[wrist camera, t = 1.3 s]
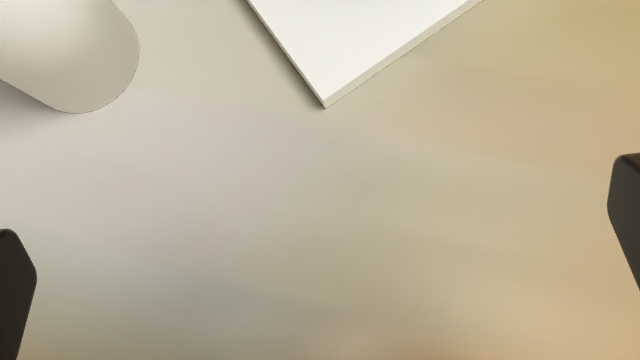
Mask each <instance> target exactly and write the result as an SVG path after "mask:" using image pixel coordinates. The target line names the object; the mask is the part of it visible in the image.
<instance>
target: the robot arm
mask: <svg viewBox="0 0 640 360" xmlns="http://www.w3.org/2000/svg"><path fill="white" fill-rule="evenodd" d="M607 210H608V216H609V219H610V221H611V224H612V226H613V229H614V231H615V233H616V236H617V238H618V240H619V243H620V245H621V247H622V250H623V252H624V255H625V257H626V259H627V262H628V264H629V266H630V269H631V271H632V274H633V276H634V278H635V281H636V283H637V285H638V288H639V290H640V153H633V154H625V155H620V156H619V157H618V158H616V160H615V162H614V164H613V169H612V175H611V181H610V188H609V194H608V200H607ZM36 283H37V274H36V270H35V267H34V265H33V263H32V261H31V259H30V257H29V256H28V254H27V252H26V250H25V248H24V246H23V245H22V243H21V241H20V239H19V237H18V236H17V234H16V233H15V232H14V231H12V230H10V229H0V360H16V359H17V356H18V352H19V348H20V344H21V341H22V337H23V333H24V329H25V325H26V322H27V318H28V314H29V310H30V306H31V303H32V299H33V295H34V291H35V287H36Z"/></svg>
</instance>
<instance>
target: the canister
mask: <svg viewBox="0 0 640 360" xmlns="http://www.w3.org/2000/svg"><path fill="white" fill-rule="evenodd" d="M138 60H139V41H138V37H137V34H136V31H135V29H134V27H133V25H132V23H131V22H130V21H129V19H128V18H127V17H126V16H125V15H124V14H123V13H122V11H121V10H120V9H119V8H118V7H117V6H116V5H115V4H114V3H113V2H112V1H111V0H0V79H1V80H3V81H5V82H7V83H9V84H10V85H12V86H14V87H16V88H18V89H19V90H21V91H23V92H25V93H26V94H28V95H30V96H32V97H34V98H35V99H37V100H39V101H41V102H43V103H44V104H46V105H48V106H50V107H51V108H53V109H56V110H58V111H62V112H66V113H85V112H91V111H94V110H97V109H99V108H102V107H104V106H106V105H107V104H109V103H111V102H112V101H113V100H115V99H116V98H117V97H118V96H119V95H120V94H121V93H122V92H123V91H124V90H125V89H126V87H127V86H128V85H129V83H130V82H131V80H132V78H133V76H134V74H135V72H136V68H137V65H138Z"/></svg>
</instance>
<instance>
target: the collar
mask: <svg viewBox="0 0 640 360" xmlns="http://www.w3.org/2000/svg"><path fill="white" fill-rule="evenodd" d="M246 1H247V2H248V3H249V5H250V6H251V7H252V9H253V10H254V11H255V13H256V14H257V16H258V17H259V18H260V20H261V21H262V22H263V24H264V25H265V27H266V28H267V29H268V31H269V32H270V33H271V35H272V36H273V38H274V39H275V40H276V42H277V43H278V44H279V46H280V47H281V48H282V50H283V51H284V53H285V54H286V55H287V57H288V58H289V59H290V61H291V62H292V64H293V65H294V66H295V68H296V69H297V70H298V72H299V73H300V75H301V76H302V77H303V79H304V80H305V81H306V83H307V84H308V85H309V87H310V88H311V90H312V91H313V92H314V94H315V95H316V96H317V98H318V99H319V101H320V102H321V103H322V105H323V106H324V107H325V109H326V108H327V107H329V106H330V105H332V104H333V103H335V102H336V101H337V100H339V99H340V98H342V97H343V96H345V95H346V94H348V93H349V92H350V91H352V90H353V89H355V88H356V87H358V86H359V85H361V84H362V83H363V82H365V81H366V80H368V79H369V78H371V77H372V76H374V75H375V74H376V73H378V72H379V71H381V70H382V69H384V68H385V67H387V66H388V65H389V64H391V63H392V62H394V61H395V60H397V59H398V58H400V57H401V56H402V55H404V54H405V53H407V52H408V51H410V50H411V49H413V48H414V47H415V46H417V45H418V44H420V43H421V42H423V41H424V40H426V39H427V38H428V37H430V36H431V35H433V34H434V33H436V32H437V31H439V30H440V29H441V28H443V27H444V26H446V25H447V24H449V23H450V22H452V21H453V20H454V19H456V18H457V17H459V16H460V15H462V14H463V13H465V12H466V11H467V10H469V9H470V8H472V7H473V6H475V5H476V4H478V3H479V2H480V1H482V0H246Z"/></svg>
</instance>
